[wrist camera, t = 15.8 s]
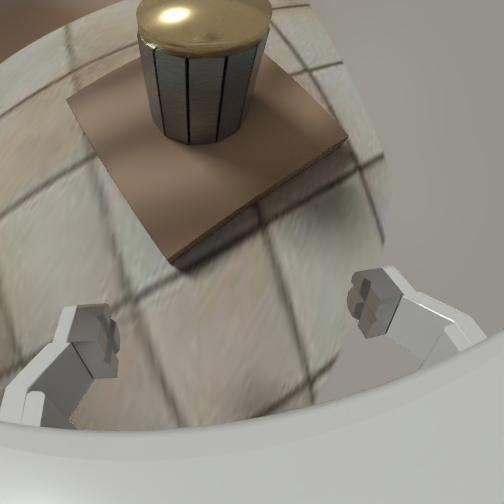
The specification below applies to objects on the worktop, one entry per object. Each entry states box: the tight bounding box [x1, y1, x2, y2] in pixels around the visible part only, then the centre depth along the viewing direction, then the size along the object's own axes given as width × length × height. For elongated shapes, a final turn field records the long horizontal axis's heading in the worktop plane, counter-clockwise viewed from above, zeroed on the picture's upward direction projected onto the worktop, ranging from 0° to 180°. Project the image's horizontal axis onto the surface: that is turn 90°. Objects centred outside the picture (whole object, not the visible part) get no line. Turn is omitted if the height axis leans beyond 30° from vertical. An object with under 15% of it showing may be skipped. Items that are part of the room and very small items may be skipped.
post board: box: [66, 52, 348, 264], centre depth 18 cm, size 14×14×2 cm
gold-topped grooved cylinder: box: [136, 0, 272, 146], centre depth 14 cm, size 6×6×8 cm
